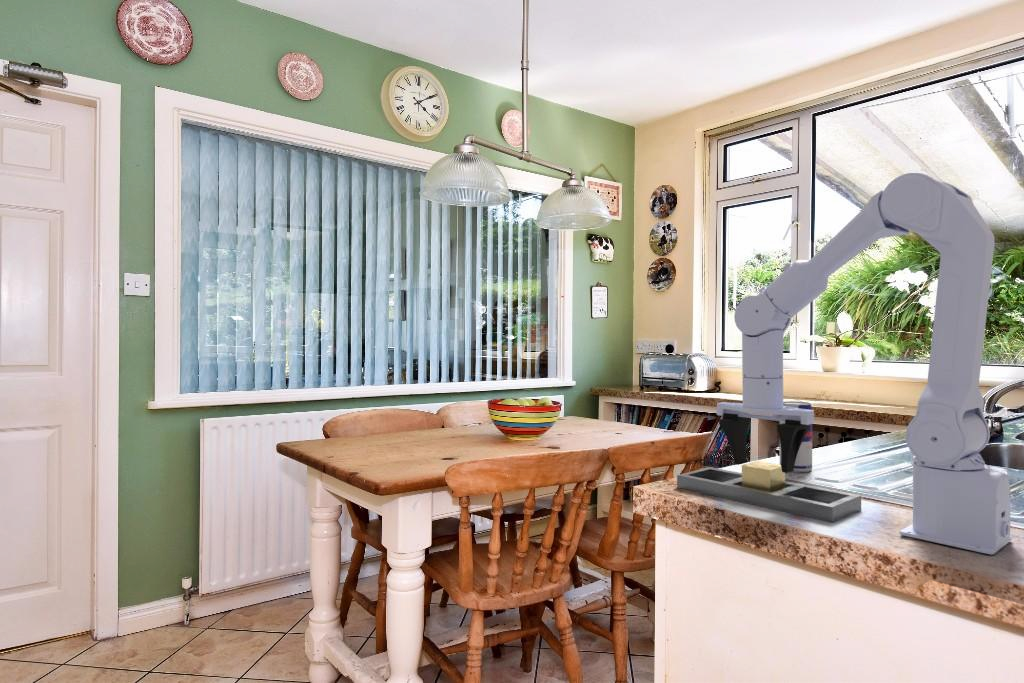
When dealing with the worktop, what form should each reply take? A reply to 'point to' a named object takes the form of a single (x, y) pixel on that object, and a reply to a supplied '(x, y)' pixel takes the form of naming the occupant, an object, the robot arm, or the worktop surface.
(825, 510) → the grey compartment tray
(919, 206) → the robot arm
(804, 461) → the energy drink
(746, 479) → the tan rectangular block
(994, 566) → the worktop surface
